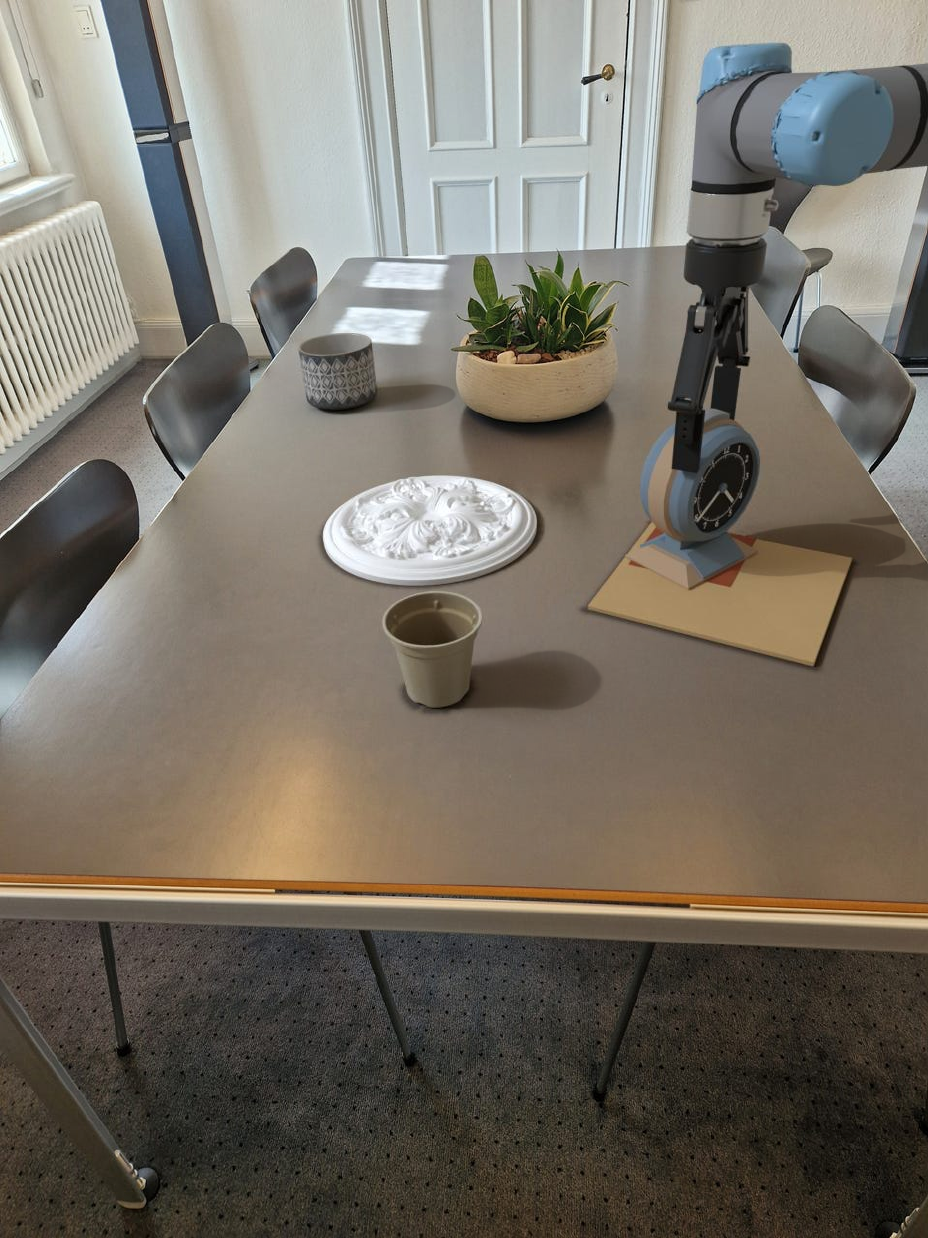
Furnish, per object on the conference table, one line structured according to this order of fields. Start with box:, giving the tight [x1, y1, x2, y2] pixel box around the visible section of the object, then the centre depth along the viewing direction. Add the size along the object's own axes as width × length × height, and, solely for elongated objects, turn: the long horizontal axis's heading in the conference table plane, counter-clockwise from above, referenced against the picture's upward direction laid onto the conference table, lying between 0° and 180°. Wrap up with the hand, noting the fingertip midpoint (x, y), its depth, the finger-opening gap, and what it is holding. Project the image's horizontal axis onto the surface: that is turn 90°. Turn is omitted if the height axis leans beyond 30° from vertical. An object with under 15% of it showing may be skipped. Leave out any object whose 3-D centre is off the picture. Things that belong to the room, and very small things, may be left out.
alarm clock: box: [624, 408, 761, 589], centre depth 96 cm, size 14×10×18 cm
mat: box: [587, 521, 853, 667], centre depth 97 cm, size 24×22×1 cm
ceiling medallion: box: [322, 475, 538, 587], centre depth 111 cm, size 28×28×3 cm
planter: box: [297, 332, 378, 411], centre depth 150 cm, size 13×13×10 cm
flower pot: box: [381, 590, 483, 709], centre depth 82 cm, size 9×9×9 cm
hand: (704, 445), depth 93 cm, fingers open, 13 cm apart
